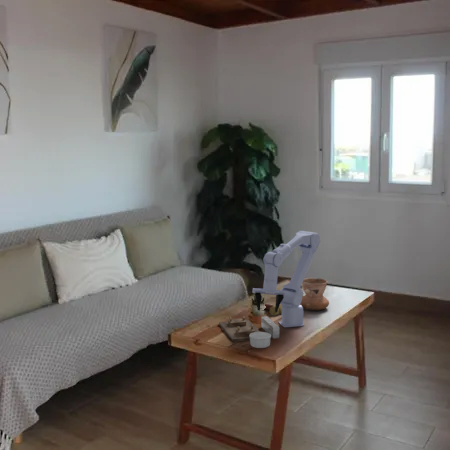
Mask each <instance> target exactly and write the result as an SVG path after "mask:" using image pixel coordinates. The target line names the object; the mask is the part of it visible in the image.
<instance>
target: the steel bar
mask: <svg viewBox="0 0 450 450" xmlns="http://www.w3.org/2000/svg"><path fill="white" fill-rule="evenodd" d="M260 320H261V321H260V322H261V323H260V324H261V325H260V326H261V328H262V329H263V331H264V332H266V333H269V334H271V339H279V338H280V326H279V325H278V324H276V323H275V322H274V320H272V319H271V318H270V317H269V316H268V315H267V316H266V315H265V316H261V319H260Z"/></svg>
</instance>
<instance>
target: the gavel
mask: <svg viewBox="0 0 450 450" xmlns="http://www.w3.org/2000/svg"><path fill="white" fill-rule="evenodd" d="M264 304H265V306H266V309H265V310H268V311H269V313H270V315H271V316H278V315H280V314H282V305H279V308H278V311H277V312H275V305H273V304H267V303H264Z"/></svg>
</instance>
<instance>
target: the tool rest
mask: <svg viewBox="0 0 450 450" xmlns="http://www.w3.org/2000/svg"><path fill="white" fill-rule="evenodd" d="M218 325H219V327H220V328H221V330H222V331H223V332H224V333H225V335H227V337H228V338H229V339H230V341H231V342H232V343H240V342H250V337H249V335H250V334H251V333H253V332H261V331H260V330H259V329H258V328H257V327H256V326H255V325H254V324H253V323H252V322H251V320H249V319H245V316H242V318H235V319H234V318H232V317H229V318H228V319H227V321H219V322H218Z"/></svg>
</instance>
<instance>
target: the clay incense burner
mask: <svg viewBox="0 0 450 450" xmlns="http://www.w3.org/2000/svg"><path fill="white" fill-rule="evenodd" d="M327 284H328V281H327V280H326V279H324V278H320V277H307V278H304V280H303V282H302V285H301V287H302V288H303V293H305V295H303V296H302V301H301V303H300V305H302V307H303V310H304V309H305V310H308V311H323V310H325V309H327V308H328V307H329V305H330V302H329V299H327V297H326V296H325V295H324V293H325V290H326V289H327Z"/></svg>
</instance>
